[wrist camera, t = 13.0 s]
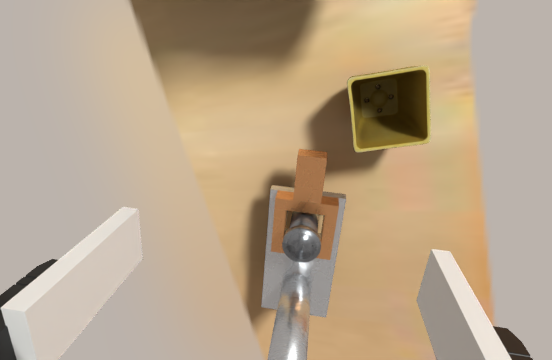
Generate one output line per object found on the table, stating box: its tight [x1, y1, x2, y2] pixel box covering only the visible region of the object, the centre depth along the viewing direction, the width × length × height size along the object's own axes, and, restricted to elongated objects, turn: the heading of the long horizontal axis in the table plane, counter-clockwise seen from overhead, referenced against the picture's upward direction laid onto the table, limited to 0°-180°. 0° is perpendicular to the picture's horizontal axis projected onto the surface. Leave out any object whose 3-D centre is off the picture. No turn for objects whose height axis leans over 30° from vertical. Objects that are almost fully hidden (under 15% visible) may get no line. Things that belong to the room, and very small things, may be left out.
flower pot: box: [347, 66, 431, 152], centre depth 44 cm, size 9×9×9 cm
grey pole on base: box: [261, 149, 346, 360], centre depth 45 cm, size 26×10×24 cm, turn 176°
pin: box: [282, 211, 321, 263], centre depth 48 cm, size 5×5×14 cm
